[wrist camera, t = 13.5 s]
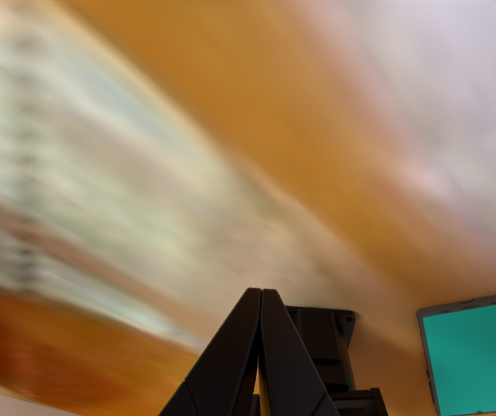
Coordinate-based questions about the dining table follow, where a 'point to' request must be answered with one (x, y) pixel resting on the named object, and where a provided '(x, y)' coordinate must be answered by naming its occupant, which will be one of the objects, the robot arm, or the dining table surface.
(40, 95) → the dining table surface
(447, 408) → the smartphone
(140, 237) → the dining table surface
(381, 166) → the dining table surface
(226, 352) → the robot arm
